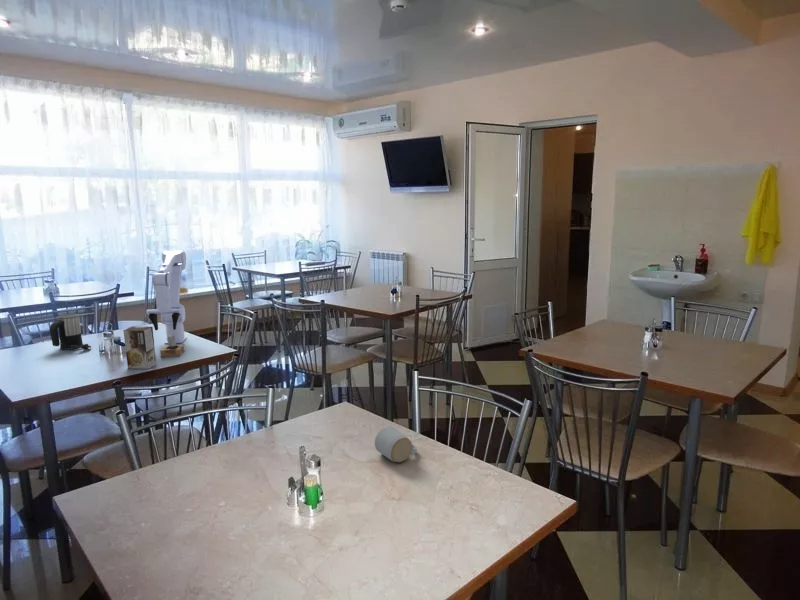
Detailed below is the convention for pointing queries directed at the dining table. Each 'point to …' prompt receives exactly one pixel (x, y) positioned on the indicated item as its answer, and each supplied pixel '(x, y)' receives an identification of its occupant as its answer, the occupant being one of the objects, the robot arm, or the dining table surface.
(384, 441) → the ceramic mug
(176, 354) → the bead block
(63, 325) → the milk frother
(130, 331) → the coffee box
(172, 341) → the needle peg
